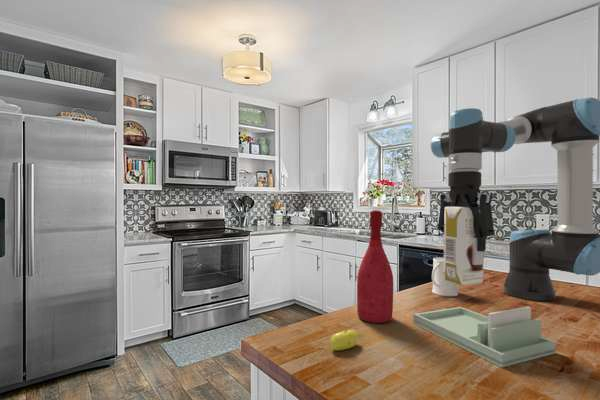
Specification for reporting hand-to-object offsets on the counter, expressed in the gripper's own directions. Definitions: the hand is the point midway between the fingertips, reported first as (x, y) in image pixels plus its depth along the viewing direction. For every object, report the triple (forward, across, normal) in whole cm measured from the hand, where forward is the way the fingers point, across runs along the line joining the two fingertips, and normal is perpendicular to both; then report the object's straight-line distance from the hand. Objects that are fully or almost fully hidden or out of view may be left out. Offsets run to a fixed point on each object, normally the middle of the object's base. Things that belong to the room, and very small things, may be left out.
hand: (463, 261), depth 85 cm
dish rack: (+18, +4, 0) cm, 18 cm away
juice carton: (+5, 0, 0) cm, 5 cm away
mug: (+18, -27, +21) cm, 39 cm away
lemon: (+18, -2, -33) cm, 38 cm away
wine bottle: (+18, -15, -16) cm, 28 cm away
